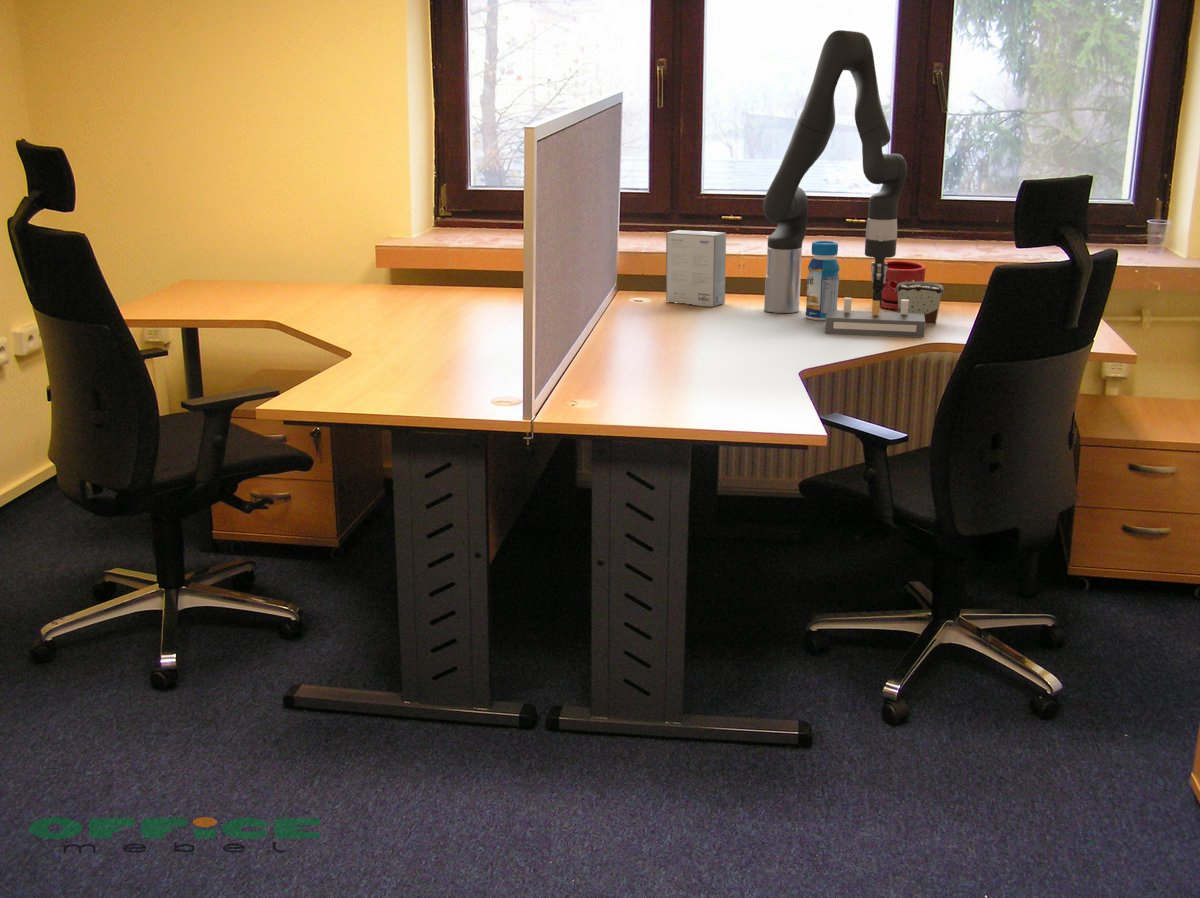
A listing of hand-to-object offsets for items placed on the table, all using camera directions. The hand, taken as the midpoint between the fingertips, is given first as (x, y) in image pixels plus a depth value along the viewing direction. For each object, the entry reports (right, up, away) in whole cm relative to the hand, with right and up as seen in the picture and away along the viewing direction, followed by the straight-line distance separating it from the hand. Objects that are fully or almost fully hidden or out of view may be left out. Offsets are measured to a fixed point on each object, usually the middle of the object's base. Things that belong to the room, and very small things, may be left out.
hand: (876, 306), depth 294 cm
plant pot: (+13, +3, +29) cm, 32 cm away
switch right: (+7, -2, -1) cm, 7 cm away
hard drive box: (-43, +5, +37) cm, 57 cm away
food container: (+14, -3, +12) cm, 18 cm away
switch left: (-7, -1, +2) cm, 7 cm away
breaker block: (-1, -6, 0) cm, 6 cm away
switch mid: (-1, -2, -2) cm, 3 cm away
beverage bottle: (-11, -1, +16) cm, 20 cm away
